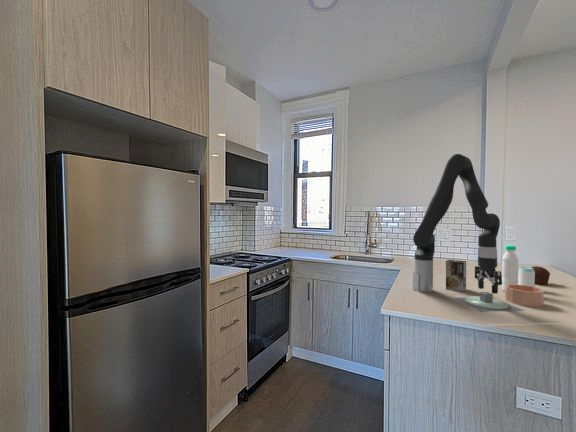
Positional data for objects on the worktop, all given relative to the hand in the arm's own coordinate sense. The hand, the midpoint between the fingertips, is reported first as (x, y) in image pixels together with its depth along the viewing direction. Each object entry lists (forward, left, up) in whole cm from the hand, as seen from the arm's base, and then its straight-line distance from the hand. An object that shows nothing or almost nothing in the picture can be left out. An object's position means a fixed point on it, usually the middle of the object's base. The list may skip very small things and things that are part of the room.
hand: (487, 290), depth 138 cm
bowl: (+19, +2, -7) cm, 21 cm away
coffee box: (+1, +26, -7) cm, 27 cm away
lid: (-1, 0, -6) cm, 6 cm away
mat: (-1, 0, -7) cm, 7 cm away
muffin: (+59, +37, -7) cm, 70 cm away
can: (+41, +25, -7) cm, 49 cm away
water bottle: (+28, +21, -7) cm, 36 cm away
